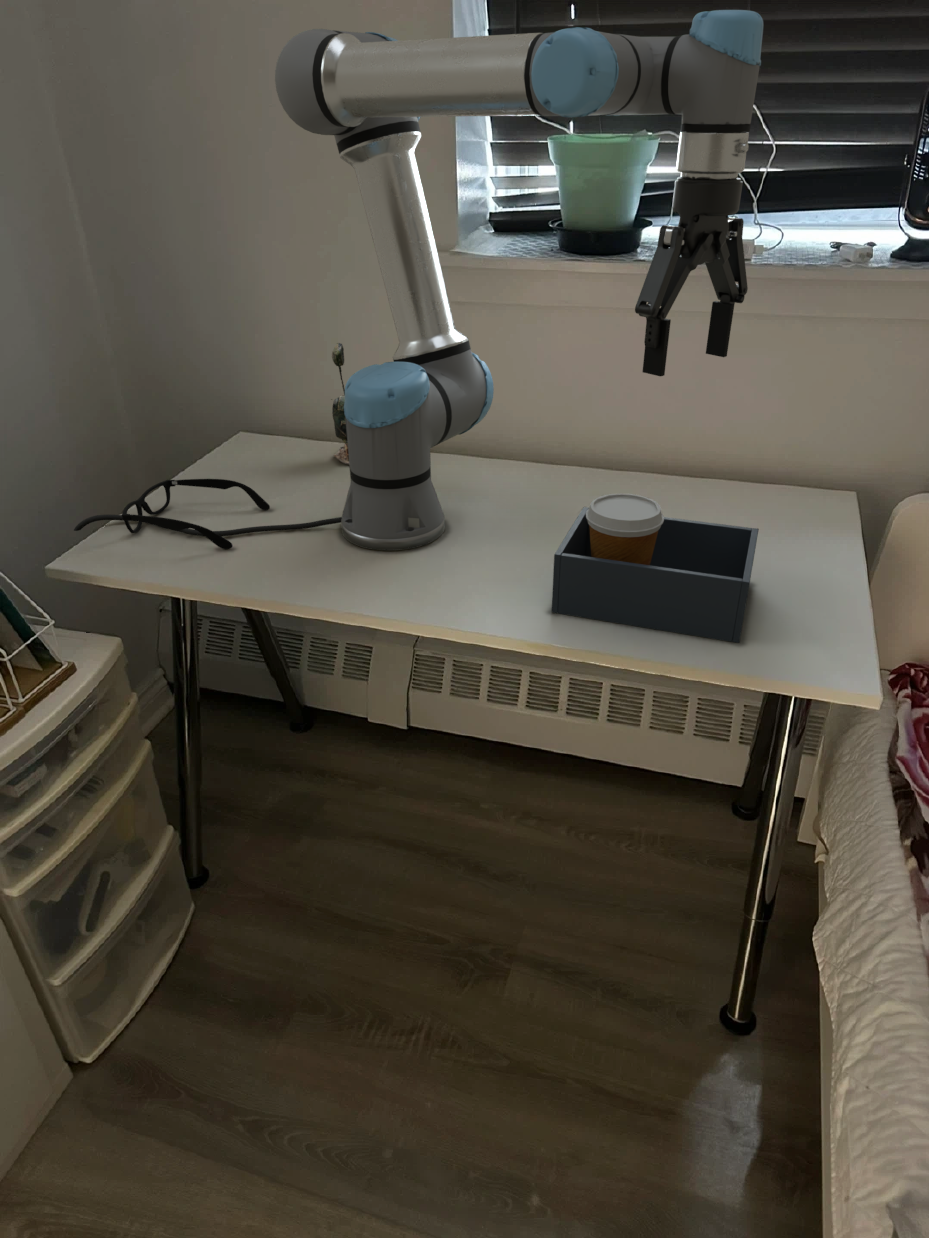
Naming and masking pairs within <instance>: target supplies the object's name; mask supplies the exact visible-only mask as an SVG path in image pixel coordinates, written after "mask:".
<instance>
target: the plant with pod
mask: <svg viewBox="0 0 929 1238" xmlns="http://www.w3.org/2000/svg"><path fill="white" fill-rule="evenodd" d="M331 359H332V362H333V364H334V365H335V366H336V367H338V372H339V376H340V381H341V387H342V391H343V395H340V396H338V397H336V398H335V399H334V400H333V398H330V400H331V401H333V403H332V409H331V410H332V411H331V415H332V420H333V425H334V432H335V433H334V434H335V437H336V438H338V439H340V440H341V441H342V442H343V443H344V445H343V446H340V448H339V450H337V452H335V454H333V457H335V458H336V459H337V460H339V462H340V463H342V464H345V465H349V454H348V442H347V431H346V419H345V414H344V403H345V384H344V380H343V374H342V371H343V370H342V367H343V366H344V365H345V353H344V346H343V343H341V342H337V343H336V344H335V346H334V347H333V350H332V351H331Z"/></svg>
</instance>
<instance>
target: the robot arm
mask: <svg viewBox="0 0 929 1238" xmlns="http://www.w3.org/2000/svg"><path fill="white" fill-rule="evenodd" d="M691 22H692V23H691V27H690V29H689V33H688V34H683V35H677V36H637V35H636V36H635V35H629V34H621V33H612V32H605V31H597V30H594V29H592V28H591V27H586V26H585V27H581V26H580V27H579V26H578V27H577V26H575V27H566V28H563V29H559V30H556V31H552V32H545V33H543V32H527V33H512V34H511V33H510V34H493V35H475V36H456V37H440V38H422V39H421V38H419V39H405V40H401V39H400V40H399V39H396V38H394V37H392V36H387V35H385V34H382V33H379V32H374V31H365V32H358V31H357V32H356V31H345V30H334V29H333V30H332V29H328V28H327V29H326V28H313V29H307V30H304V31H300V32H299V33H298V34H296V35H294V36H293V37H291V38H289V40H287V42H286V44H285V45H284V46H283V47H282V49H281V51H280V53H279V55H278V58H277V61H276V65H275V70H274V84H275V91H276V94H277V97H278V100H279V102H280V105H281V106H282V108H283V111H284V112H285V113H286V114H287V116H288V118H289V119H290V120H292V121H293V122H294V123H295V124H296V125H297V126H299V127H300V128H302V129H303V130H305V131H307V132H310V133H312V134H315V135H321V136H334V140H335V143H336V147H337V150H338V154H339V158H340V159H341V160H343V162H345V163H347V164H348V165H349V166H351V167H352V168H353V169H354V173H355V177H356V180H357V185H358V188H359V192H360V196H361V200H362V204H363V207H364V213H365V216H366V219H367V223H368V227H369V231H370V234H371V239H372V243H373V246H374V250H375V253H376V257H377V262H378V265H379V270H380V273H381V278H382V281H383V285H384V288H385V291H386V292H385V293H386V297H387V300H388V304H389V308H390V312H391V316H392V320H393V324H394V328H395V332H396V335H397V339H398V346H397V348H396V350H395V352H394V354H393V356H392V360H393V361H385V362H383V363H382V364H377V363H375V364H372V365H368V366H366V367H363V368H361V369H359V370H356V371H355V372H354V373H353V374H352V375H350V377H348V379H347V381H346V383H345V385H344V389H345V403H344V414H345V419H346V431H347V442H348V454H349V475H350V477H349V479H350V484H349V488H348V491H347V495H346V499H345V503H344V507H343V510H342V515H341V516H338V517H332V518H326V519H320V520H316V521H315V520H314V521H309V522H301V523H293V524H292V523H291V524H290V523H289V524H273V525H258V526H250V527H242V528H235V529H225V530H212V531H213V532H215V533H216V534H218V535H220V536H222V537H230V536H239V535H245V534H254V533H263V532H278V531H279V532H280V531H296V530H305V529H312V528H317V527H321V526H322V527H323V526H328V525H334V524H340V525H341V532H342V533H341V534H342V536H343V537H344V539H346V540H347V541H348V542H349V543H351V544H353V545H355V546H358V547H361V548H365V549H369V550H375V551H376V550H377V551H403V550H409V549H414V548H419V547H421V546H426V545H428V544H430V543H432V542H434V541H436V540H437V539H438V538H440V537H441V536H442V535H443V533H444V532H445V526H446V525H445V514H444V510H443V508H442V505H441V502H440V499H439V497H438V495H437V491H436V488H435V486H434V483H433V481H432V467H431V465H432V464H431V463H432V461H431V460H432V459H431V449H432V448H433V447H437V446H438V445H440V444H442V443H444V442H446V441H449V440H450V439H453V438H454V437H456V436H461V435H463V434H465V433H467V432H468V431H470V430H471V429H473V428H474V427H475V426H476V425H478V424H479V423H480V422H481V421H482V420H484V419H485V417H486V416H487V415H488V413H489V411H490V409H491V406H492V404H493V399H494V392H495V391H494V389H495V388H494V380H493V375H492V373H491V371H490V368H489V366H488V364H487V363H486V362H485V361H484V360H482V359H480V355H478V354H476V353H474V352H472V347H471V344H470V339H469V337H468V336H466V335H465V334H464V333H462V332H461V331H460V330H457V328H456V325H455V321H454V317H453V313H452V308H451V304H450V300H449V296H448V292H447V286H446V282H445V278H444V274H443V271H442V266H441V261H440V257H439V253H438V248H437V244H436V240H435V236H434V231H433V228H432V223H431V218H430V215H429V210H428V206H427V201H426V197H425V192H424V188H423V184H422V180H421V176H420V172H419V167H418V163H417V158H416V155H415V152H416V151H415V150H416V148H417V147H418V144H419V143H420V140H421V138H422V132H421V128H420V124H419V121H420V119H421V118H429V117H430V118H434V117H435V118H436V117H437V118H438V117H439V118H440V117H441V118H443V117H527V116H528V117H530V116H531V117H532V116H533V117H535V116H536V117H537V116H538V117H539V116H544V117H563V118H583V117H590V116H608V117H610V116H613V117H619V116H649V115H650V116H652V115H654V116H655V115H670V116H678V115H681V124H680V133H679V139H678V140H679V141H678V147H677V156H676V164H675V165H676V166H675V170H676V171H677V172H679V173H680V176H678V177H677V178H676V180H675V181H674V188H673V197H672V206H671V209H672V211H673V212H674V213H675V214H678V215H679V219H678V224H677V225H667V224H663V225H661V226H660V229H659V234H658V240H657V247H656V249H655V251H654V255H653V257H652V260H651V263H650V265H649V268H648V270H647V274H646V276H645V279H644V281H643V285H642V287H641V291H640V292H639V295H638V298H637V301H636V304H635V307H634V313H635V314H637V315H638V316H639V317H642V318H645V319H646V320H645V321H646V322H645V323H646V324H645V330H644V331H645V334H644V342H643V343H644V352H643V353H644V354H643V362H642V371H641V372H642V373H643V374H649V375H652V376H656V377H664V376H665V373H666V366H667V356H668V347H669V340H670V330H671V322H672V320H671V319H670V318H667V317H668V314H669V313H670V311H671V309H672V307H673V305H674V304H675V301H676V300H677V298H678V295H679V294H680V292H681V290H682V288H683V287H684V285H685V283H686V281H687V279H688V277H689V276H690V273H691V272H692V271H695V270H696V269H697V267H698V266H700V265H703V264H705V266H706V270H707V273H708V276H709V279H710V281H711V285H712V287H713V290H714V293H715V296H716V298H717V300H715V301H712V302H711V310H710V318H709V326H708V333H707V341H706V342H707V343H706V347H705V354H706V355H710V356H715V357H720V358H726V357H728V350H729V344H730V339H731V338H730V337H731V332H732V331H731V329H732V324H733V317H734V309H735V304H743V303H744V301H745V297H746V295H747V293H748V289H749V287H748V279H747V278H748V277H747V269H746V259H745V252H744V240H743V234H744V223H745V221H744V219H743V218H742V217H733V215H735V214H737V213H738V212H739V210H740V204H741V199H742V198H741V197H742V191H743V185H744V184H743V183H744V182H743V181H742V178H741V177H738V176H739V174H741V173H743V172H744V171H745V167H746V158H747V152H748V151H749V147H750V146H749V136H750V131H751V123H752V117H753V110H754V105H755V98H756V92H757V84H758V79H759V73H760V72H759V71H760V67H761V66H762V60H761V57H762V56H761V55H762V45H763V44H762V43H763V36H764V35H763V34H764V19H763V17H762V16H761V14H759V12H757V11H754V10H749V9H716V10H709V11H706V10H705V11H701V12H697V13H696V14H695V15H694V17H693V19H692V21H691ZM731 216H732V217H731ZM100 521H123V522H124V520H123V518H122V514H97V515H93V516H90V517H87V518H85V519H83V520H81V521H80V522H79V523H78V524H77V525H76V526H75V527H74V529H73V532H78V531H81V530H82V529H83V528H84V527H86V526H87V525H89V524H91V523H94V522H100ZM128 521H129V522H137V521H136V520H128ZM154 526H156V525H154ZM156 527H158V528H161V529H165V530H170V531H173V532H178V533H182V534H185V535H191V536H195V537H196V536H197V537H205V536H204V535H203V534H201V533H200V532H198V531H197V530H195V529H192V528H186V529H183V530H180V531H176V530H172V529H168V528H164V527H160V526H156ZM85 632H86V633H91V631H85ZM91 634H92V633H91Z"/></svg>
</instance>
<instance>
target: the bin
mask: <svg viewBox="0 0 929 1238" xmlns="http://www.w3.org/2000/svg"><path fill="white" fill-rule="evenodd" d="M589 507H590V506H589ZM589 507H588V506H583V507H582V509H581V510H580V512H579V514H578V515H577V517H576V518H575V520H574V522H573V523H572V525H571V527H570V528H569V530H568V531H567V533H566V535H565V536H564V537H563V540H562V542H561V543H560V545H559V546H558V548H557V549H556V551H555V553H554V555H553V572H552V573H553V574H552V592H551V593H552V595H551V613H553V614H560V615H567V616H570V617H571V616H572V617H578V618H583V619H589V620H596V621H604V622H608V623H615V624H621V625H627V626H634V627H638V628H639V627H640V628H645V629H651V630H652V629H653V630H656V631H657V630H658V631H664V632H671V633H676V634H682V635H687V636H694V637H701V638H706V639H712V640H719V641H724V642H730V643H735V644H739V643H740V641H741V636H742V631H743V630H742V629H743V625H744V619H745V612H746V608H747V607H746V606H747V601H748V596H749V589H750V582H751V578H752V572H753V566H754V559H755V553H756V547H757V542H758V537H759V536H758V535H759V528H757V527H749V526H739V525H732V524H723V523H716V522H708V521H699V520H692V519H684V518H675V517H667V516H664V522H663V524H662V525H661V527H660V529H659V530H658V534H657V538H656V542H655V546H654V550H653V554H652V558H651V562H650V565H643V564H636V563H629V562H622V561H615V560H608V559H601V558H594V557H591V543H590V530H589V524H588V520H587V518H586V512H587V510H588V509H589Z"/></svg>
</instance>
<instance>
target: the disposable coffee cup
mask: <svg viewBox="0 0 929 1238" xmlns="http://www.w3.org/2000/svg"><path fill="white" fill-rule="evenodd" d="M664 517H665V516H664V514H663V513H662V507H661V505H660V503H659V502H657V501H656V500H655V499H652V498H650V497H647V496H644V495H641V494H636V493H635V494H634V493H621V492H619V493H609V494H608V493H607V494H603V495H600V496H597V497H596V498H594V499H593V500H592V501H591V502H590V504H589V509H588V510H587V512H586V518H587V520H588V524H589V530H590V543H591V557H594V558H601V559H608V560H615V561H622V562H629V563H636V564H643V565H650V562H651V558H652V554H653V550H654V546H655V542H656V538H657V534H658V530H659V529H660V527H661V525H662V524H663V522H664Z"/></svg>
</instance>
